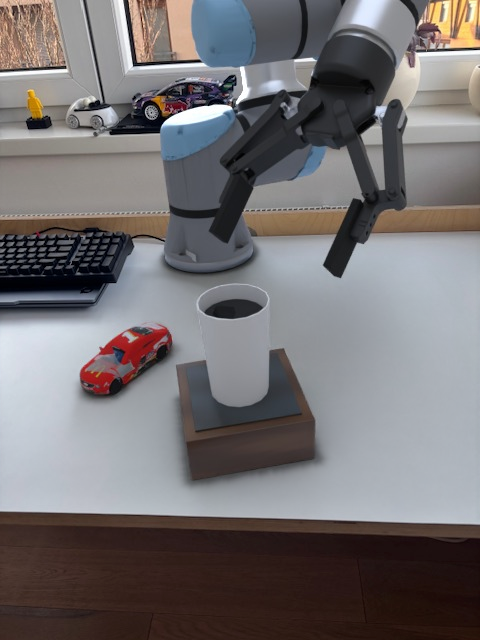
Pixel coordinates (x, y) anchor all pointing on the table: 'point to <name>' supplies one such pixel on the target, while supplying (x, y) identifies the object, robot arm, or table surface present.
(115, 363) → the race car
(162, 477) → the table surface
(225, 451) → the stand
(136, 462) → the table surface
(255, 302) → the white coffee cup
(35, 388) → the table surface
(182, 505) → the table surface
